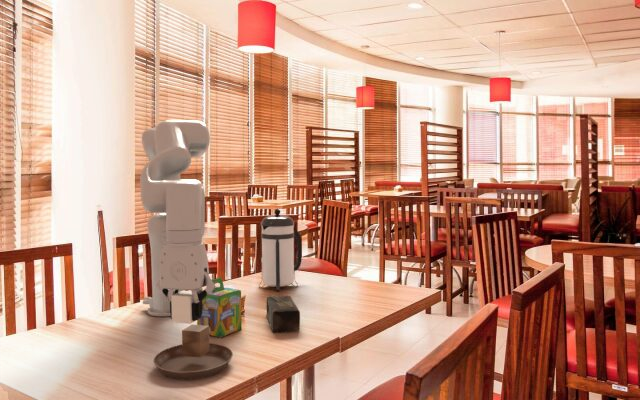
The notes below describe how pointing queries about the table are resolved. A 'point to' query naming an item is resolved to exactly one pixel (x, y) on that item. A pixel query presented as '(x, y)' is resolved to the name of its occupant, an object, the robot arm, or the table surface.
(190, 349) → the walnut block
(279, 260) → the coffee press
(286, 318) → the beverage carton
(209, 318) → the chalk box
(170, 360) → the plant saucer
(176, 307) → the cream block
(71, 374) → the table surface
